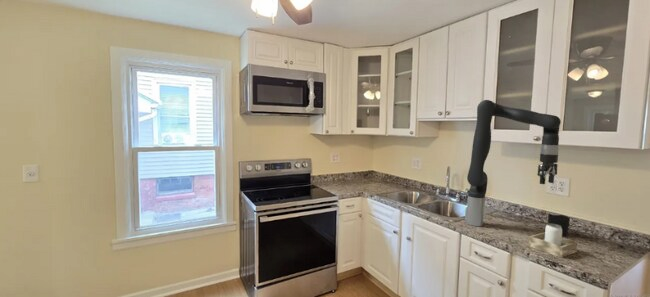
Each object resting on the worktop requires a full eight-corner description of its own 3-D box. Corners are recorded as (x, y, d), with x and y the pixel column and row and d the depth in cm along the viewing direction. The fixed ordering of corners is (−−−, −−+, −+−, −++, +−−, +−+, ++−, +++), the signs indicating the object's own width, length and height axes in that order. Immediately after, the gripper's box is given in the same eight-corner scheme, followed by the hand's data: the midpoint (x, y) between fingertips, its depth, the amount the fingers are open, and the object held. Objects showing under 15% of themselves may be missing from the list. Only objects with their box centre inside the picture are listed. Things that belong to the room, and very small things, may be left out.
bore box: (528, 246, 144) (529, 236, 144) (543, 241, 150) (544, 232, 150) (561, 257, 131) (562, 247, 131) (576, 252, 138) (577, 242, 137)
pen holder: (564, 238, 156) (566, 220, 155) (544, 232, 163) (545, 215, 163) (570, 234, 161) (572, 217, 160) (550, 229, 169) (552, 212, 168)
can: (552, 246, 145) (554, 222, 144) (564, 251, 138) (566, 227, 137) (540, 246, 144) (542, 223, 143) (551, 251, 138) (553, 227, 137)
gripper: (548, 152, 158) (545, 181, 159) (533, 153, 151) (531, 183, 153) (564, 153, 151) (561, 183, 152) (550, 154, 145) (547, 185, 146)
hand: (546, 183), depth 152 cm, fingers open, 8 cm apart
